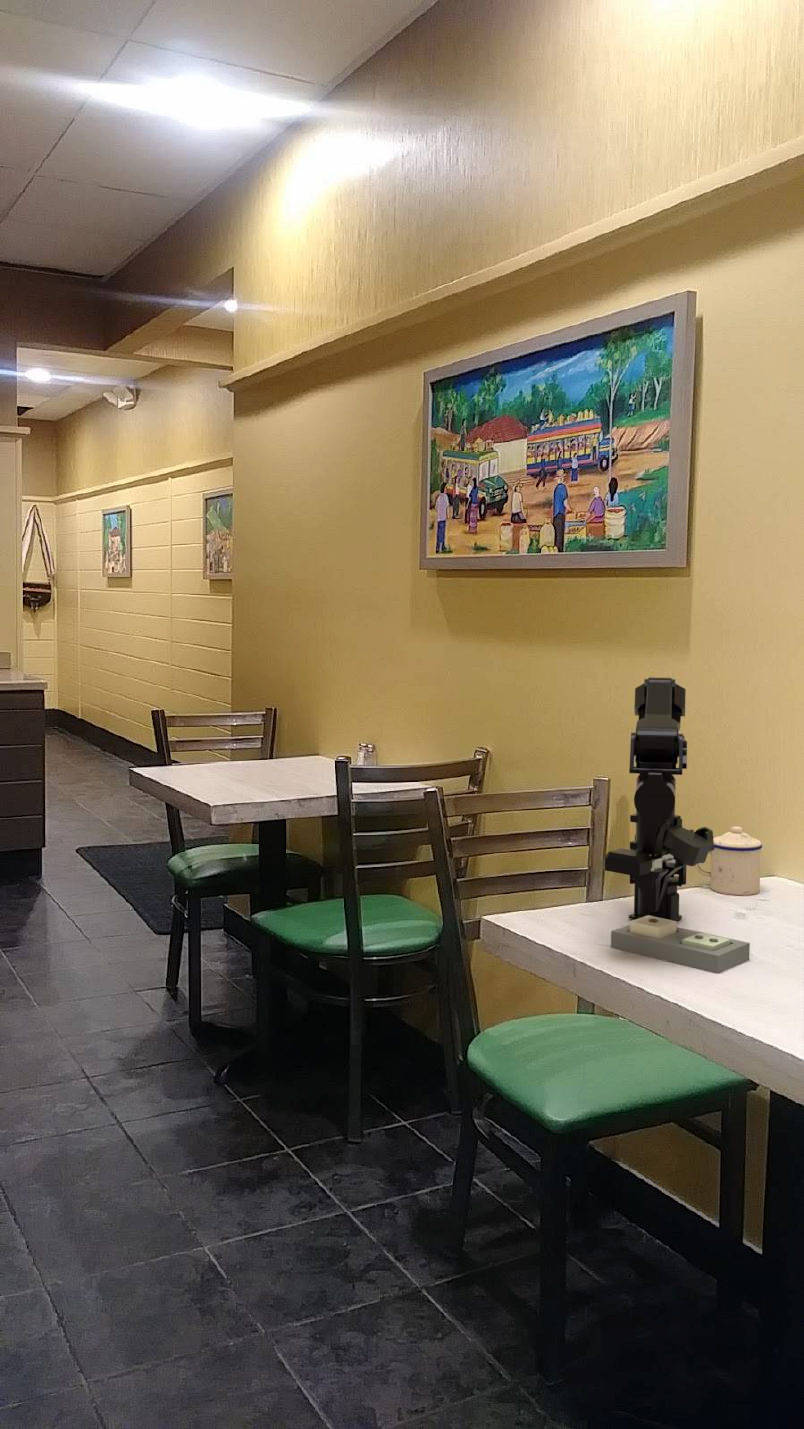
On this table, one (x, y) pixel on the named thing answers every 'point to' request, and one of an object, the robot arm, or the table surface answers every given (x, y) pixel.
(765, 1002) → the table surface
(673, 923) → the cream tile one
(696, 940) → the sage tile two
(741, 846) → the teacup with lid
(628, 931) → the panel
